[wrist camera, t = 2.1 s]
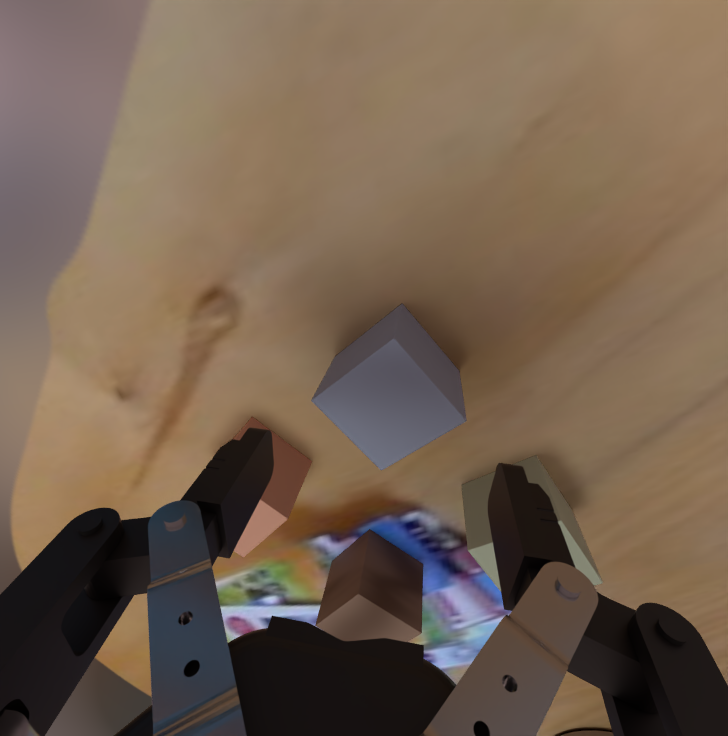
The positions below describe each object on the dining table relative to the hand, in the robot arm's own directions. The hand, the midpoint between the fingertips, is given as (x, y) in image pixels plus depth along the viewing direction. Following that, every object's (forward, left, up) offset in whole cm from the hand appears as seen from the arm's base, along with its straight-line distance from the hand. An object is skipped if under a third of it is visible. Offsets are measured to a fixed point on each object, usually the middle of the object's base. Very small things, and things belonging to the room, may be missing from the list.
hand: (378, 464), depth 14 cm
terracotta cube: (0, +12, -9) cm, 15 cm away
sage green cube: (-12, 0, -9) cm, 15 cm away
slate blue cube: (0, 0, -9) cm, 9 cm away
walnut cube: (-12, +12, -9) cm, 19 cm away
